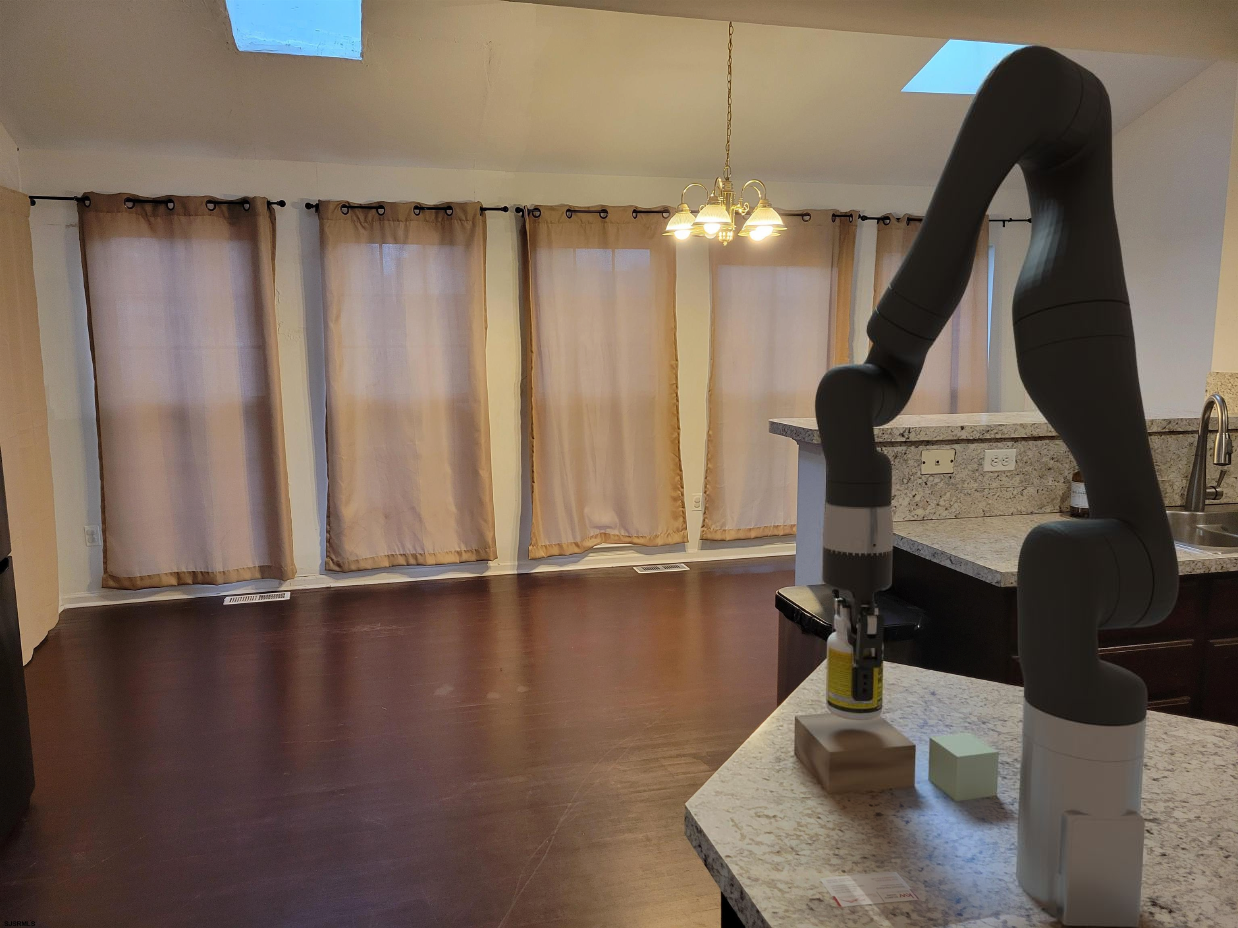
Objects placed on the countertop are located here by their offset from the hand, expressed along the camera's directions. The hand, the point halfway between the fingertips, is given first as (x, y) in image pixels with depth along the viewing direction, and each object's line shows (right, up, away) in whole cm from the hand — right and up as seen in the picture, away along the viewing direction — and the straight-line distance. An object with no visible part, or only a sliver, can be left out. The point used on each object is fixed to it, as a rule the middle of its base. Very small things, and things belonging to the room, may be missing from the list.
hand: (854, 688), depth 94 cm
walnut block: (0, -10, +1) cm, 10 cm away
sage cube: (+11, -10, -3) cm, 15 cm away
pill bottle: (0, -3, 0) cm, 3 cm away
